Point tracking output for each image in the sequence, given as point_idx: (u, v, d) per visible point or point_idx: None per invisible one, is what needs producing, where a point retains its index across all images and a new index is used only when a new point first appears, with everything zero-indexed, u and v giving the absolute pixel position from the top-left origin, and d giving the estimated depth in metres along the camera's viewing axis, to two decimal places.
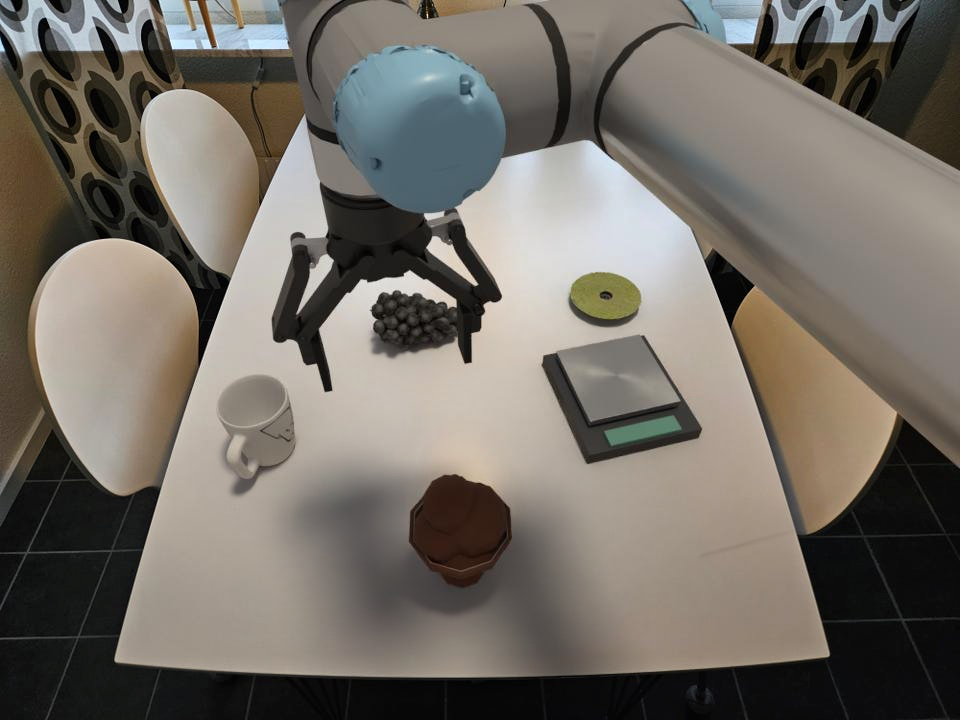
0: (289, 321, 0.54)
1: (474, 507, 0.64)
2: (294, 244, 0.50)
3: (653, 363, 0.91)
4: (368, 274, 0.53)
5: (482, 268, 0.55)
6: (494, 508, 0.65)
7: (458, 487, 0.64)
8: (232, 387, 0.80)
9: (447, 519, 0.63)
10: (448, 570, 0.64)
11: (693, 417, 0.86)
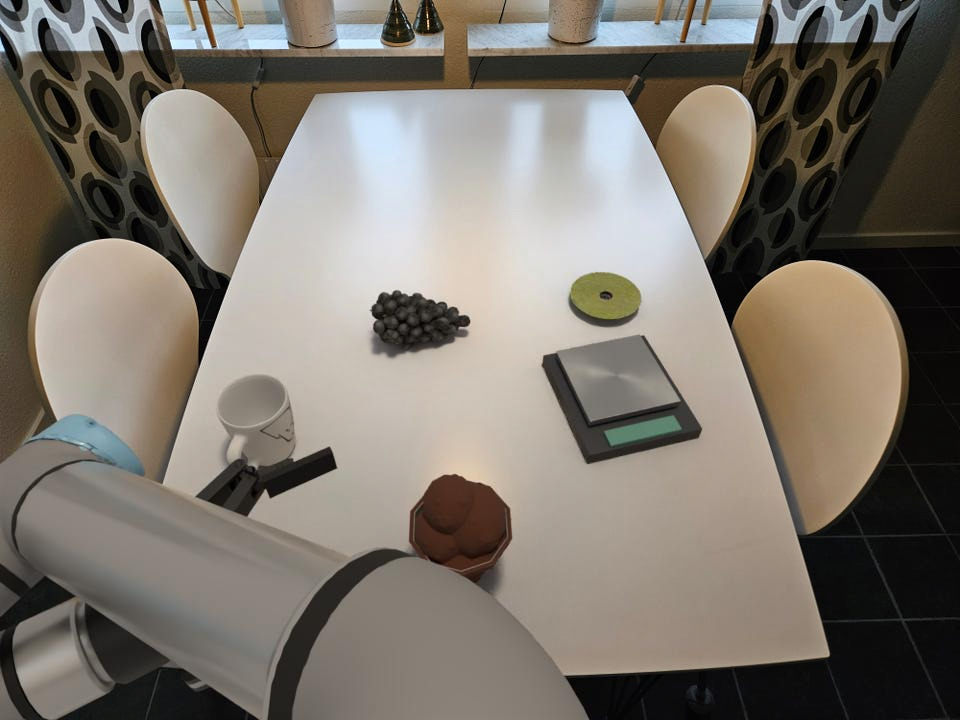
0: None
1: (474, 507, 0.64)
2: (187, 684, 0.47)
3: (653, 363, 0.91)
4: None
5: (201, 492, 0.56)
6: (494, 508, 0.65)
7: (458, 487, 0.64)
8: (232, 387, 0.80)
9: (447, 518, 0.63)
10: None
11: (693, 417, 0.86)
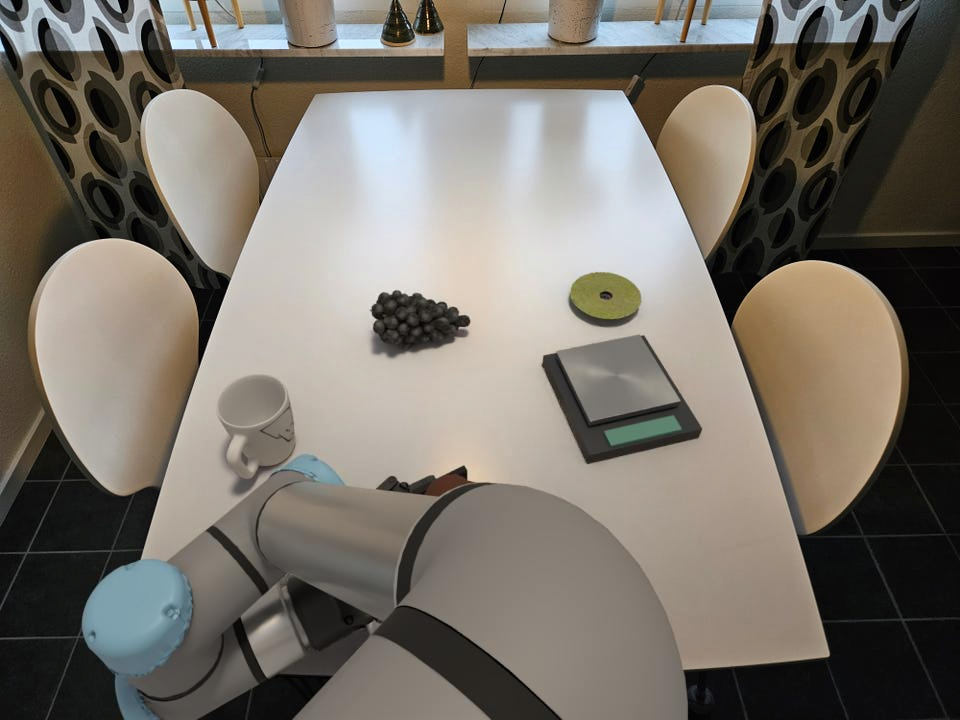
0: None
1: None
2: None
3: (653, 363, 0.91)
4: None
5: None
6: None
7: None
8: (232, 387, 0.80)
9: None
10: None
11: (693, 417, 0.86)
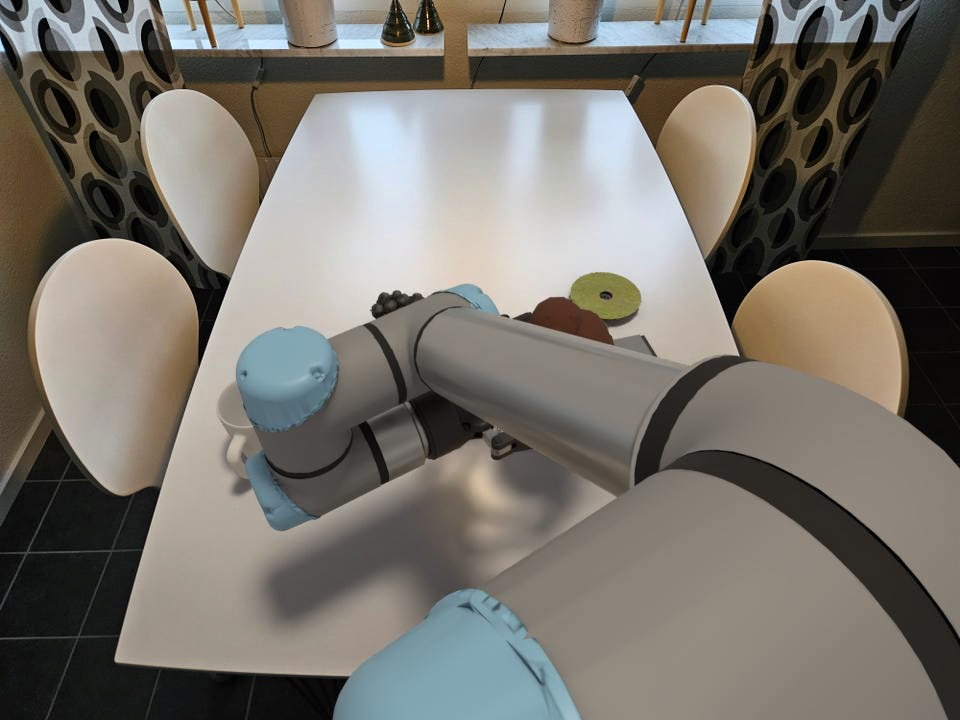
0: None
1: (584, 323, 0.65)
2: (494, 451, 0.61)
3: None
4: None
5: None
6: (602, 327, 0.66)
7: (568, 303, 0.65)
8: (232, 387, 0.80)
9: None
10: None
11: None
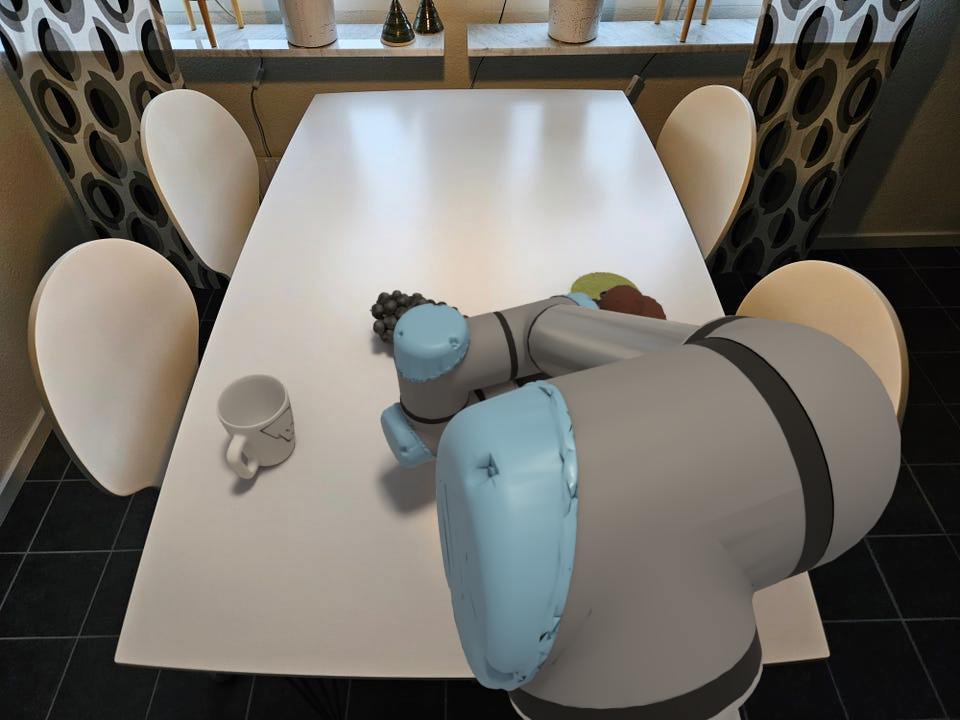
0: None
1: (646, 306, 0.79)
2: None
3: None
4: None
5: None
6: (660, 309, 0.80)
7: (633, 290, 0.79)
8: (232, 387, 0.80)
9: (626, 312, 0.78)
10: None
11: None
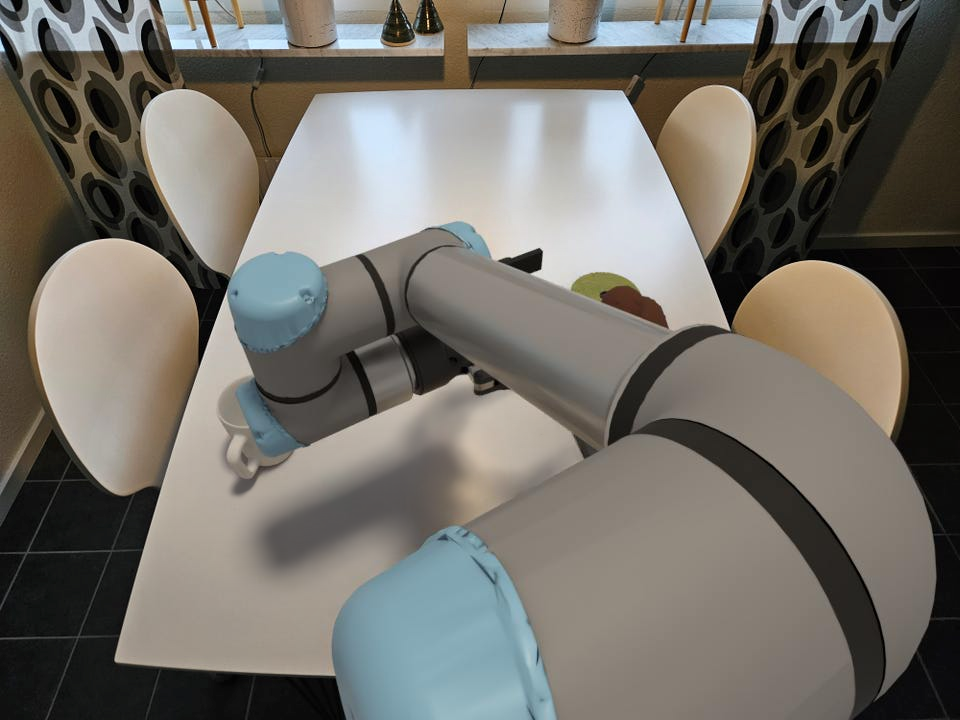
0: None
1: (645, 307, 0.79)
2: (476, 385, 0.62)
3: None
4: None
5: None
6: (660, 310, 0.80)
7: (633, 291, 0.79)
8: (232, 387, 0.80)
9: None
10: None
11: None
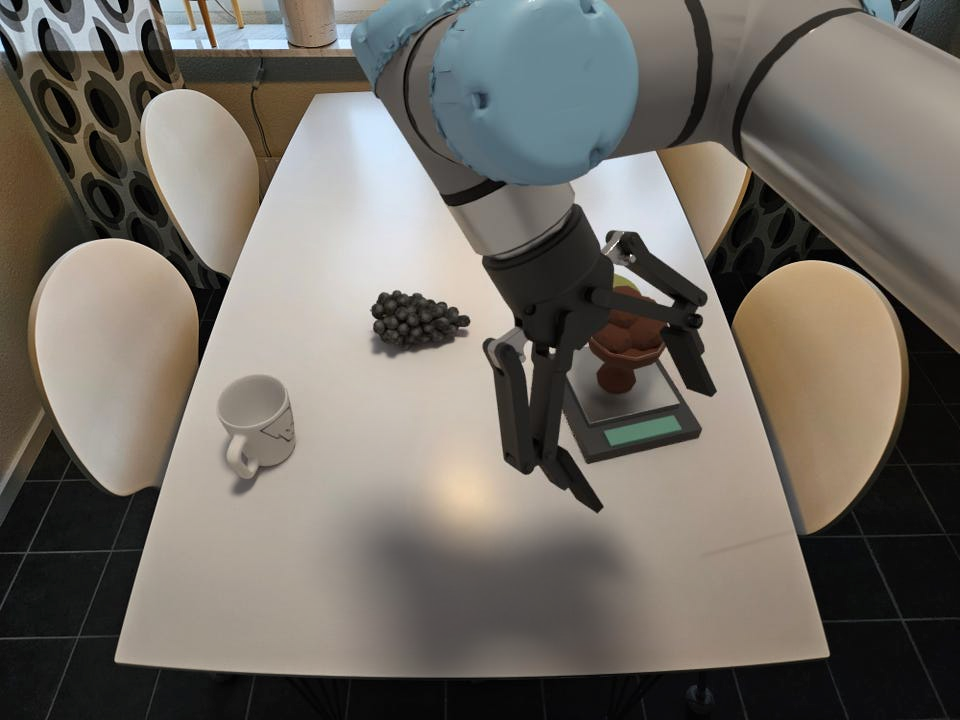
0: (528, 440, 0.45)
1: None
2: (493, 347, 0.43)
3: (652, 365, 0.91)
4: (576, 339, 0.45)
5: (674, 271, 0.48)
6: None
7: (633, 291, 0.79)
8: (232, 387, 0.80)
9: (626, 313, 0.78)
10: (625, 357, 0.79)
11: (693, 417, 0.86)
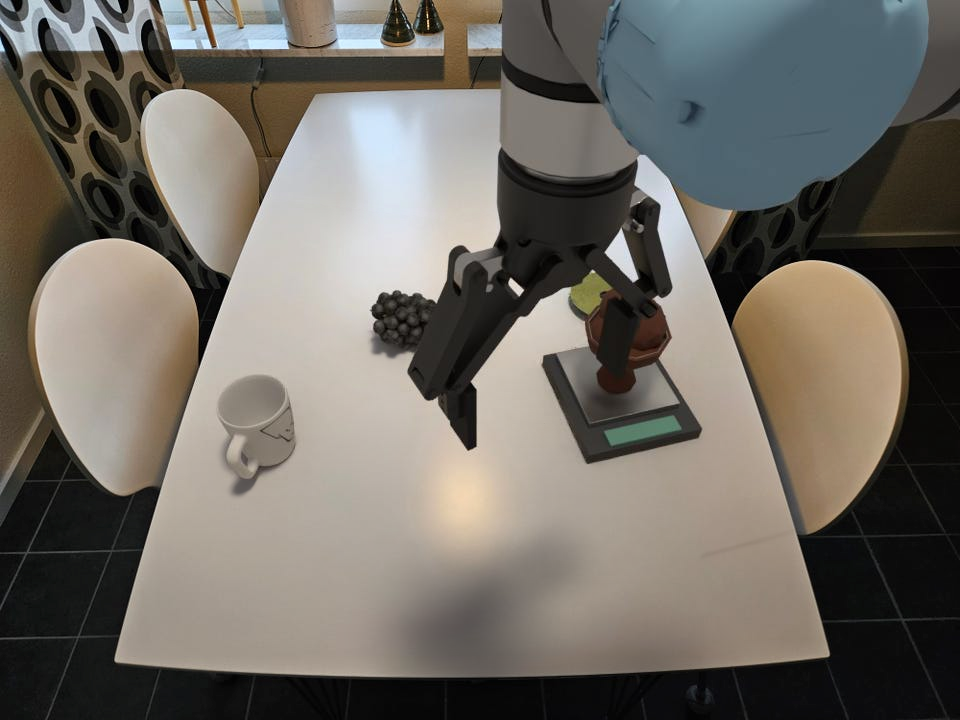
0: (447, 369, 0.39)
1: None
2: (466, 262, 0.36)
3: (652, 365, 0.91)
4: None
5: (663, 257, 0.44)
6: (660, 310, 0.80)
7: None
8: (232, 387, 0.80)
9: None
10: None
11: (693, 417, 0.86)
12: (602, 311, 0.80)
